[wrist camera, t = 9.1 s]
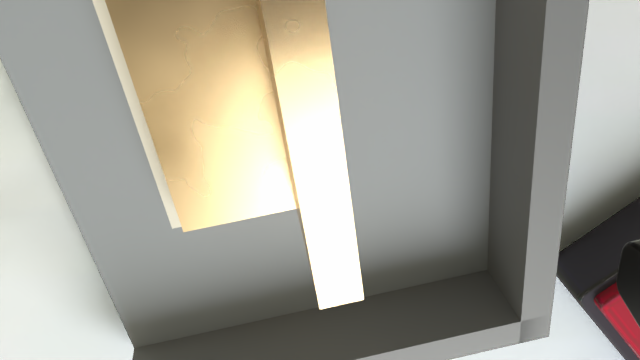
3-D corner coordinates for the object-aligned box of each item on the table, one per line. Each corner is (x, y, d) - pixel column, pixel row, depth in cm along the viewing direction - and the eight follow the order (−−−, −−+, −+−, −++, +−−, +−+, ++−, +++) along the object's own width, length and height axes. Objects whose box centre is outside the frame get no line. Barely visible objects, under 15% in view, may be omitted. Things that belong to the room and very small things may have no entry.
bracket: (325, 182, 20) (364, 299, 15) (185, 212, 19) (175, 342, 14) (286, -58, 15) (323, -12, 10) (106, -26, 15) (52, 38, 10)
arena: (528, -222, 15) (618, -242, 12) (502, 269, 25) (548, 336, 21) (-67, -127, 14) (-155, -119, 11) (145, 349, 24) (134, 433, 20)
